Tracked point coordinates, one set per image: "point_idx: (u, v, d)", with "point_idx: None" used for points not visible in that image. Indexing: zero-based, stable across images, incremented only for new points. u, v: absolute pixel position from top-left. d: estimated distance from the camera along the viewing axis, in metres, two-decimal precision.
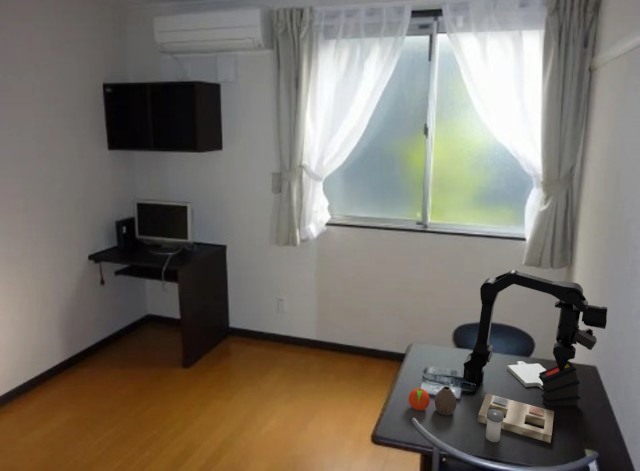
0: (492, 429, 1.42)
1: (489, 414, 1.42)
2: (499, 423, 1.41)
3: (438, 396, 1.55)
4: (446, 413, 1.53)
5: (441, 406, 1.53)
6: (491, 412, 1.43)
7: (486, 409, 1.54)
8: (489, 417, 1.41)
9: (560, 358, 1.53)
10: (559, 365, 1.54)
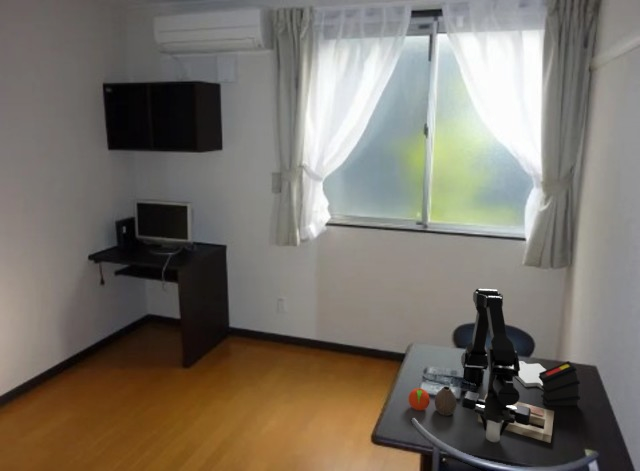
0: (492, 429, 1.42)
1: None
2: (499, 423, 1.41)
3: (438, 396, 1.55)
4: (446, 413, 1.53)
5: (441, 406, 1.53)
6: None
7: None
8: None
9: None
10: None
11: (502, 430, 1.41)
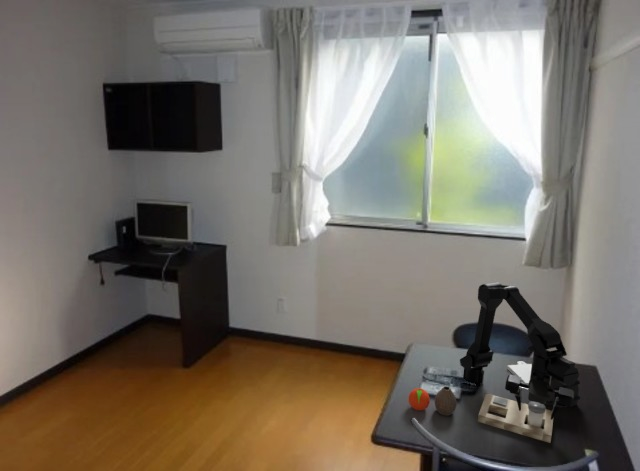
0: (534, 420, 1.46)
1: (531, 406, 1.46)
2: (541, 414, 1.46)
3: (438, 396, 1.55)
4: (446, 413, 1.53)
5: (441, 406, 1.53)
6: (533, 404, 1.47)
7: (486, 409, 1.54)
8: (531, 408, 1.46)
9: None
10: None
11: (553, 414, 1.44)
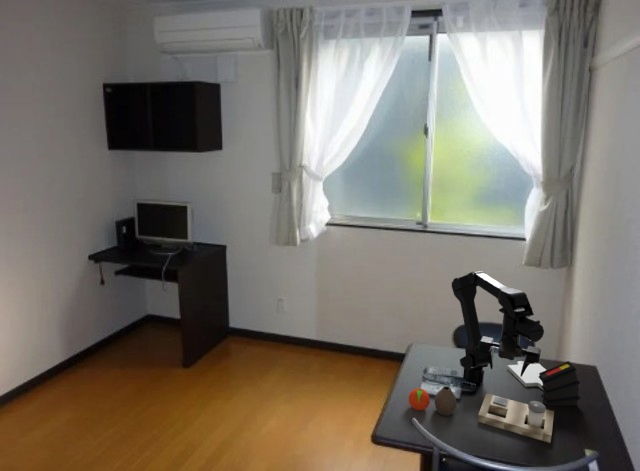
0: (534, 420, 1.46)
1: (531, 405, 1.46)
2: (541, 414, 1.46)
3: (438, 396, 1.55)
4: (446, 413, 1.53)
5: (441, 406, 1.53)
6: (533, 404, 1.47)
7: (486, 409, 1.54)
8: (531, 408, 1.46)
9: None
10: None
11: (522, 371, 1.55)
